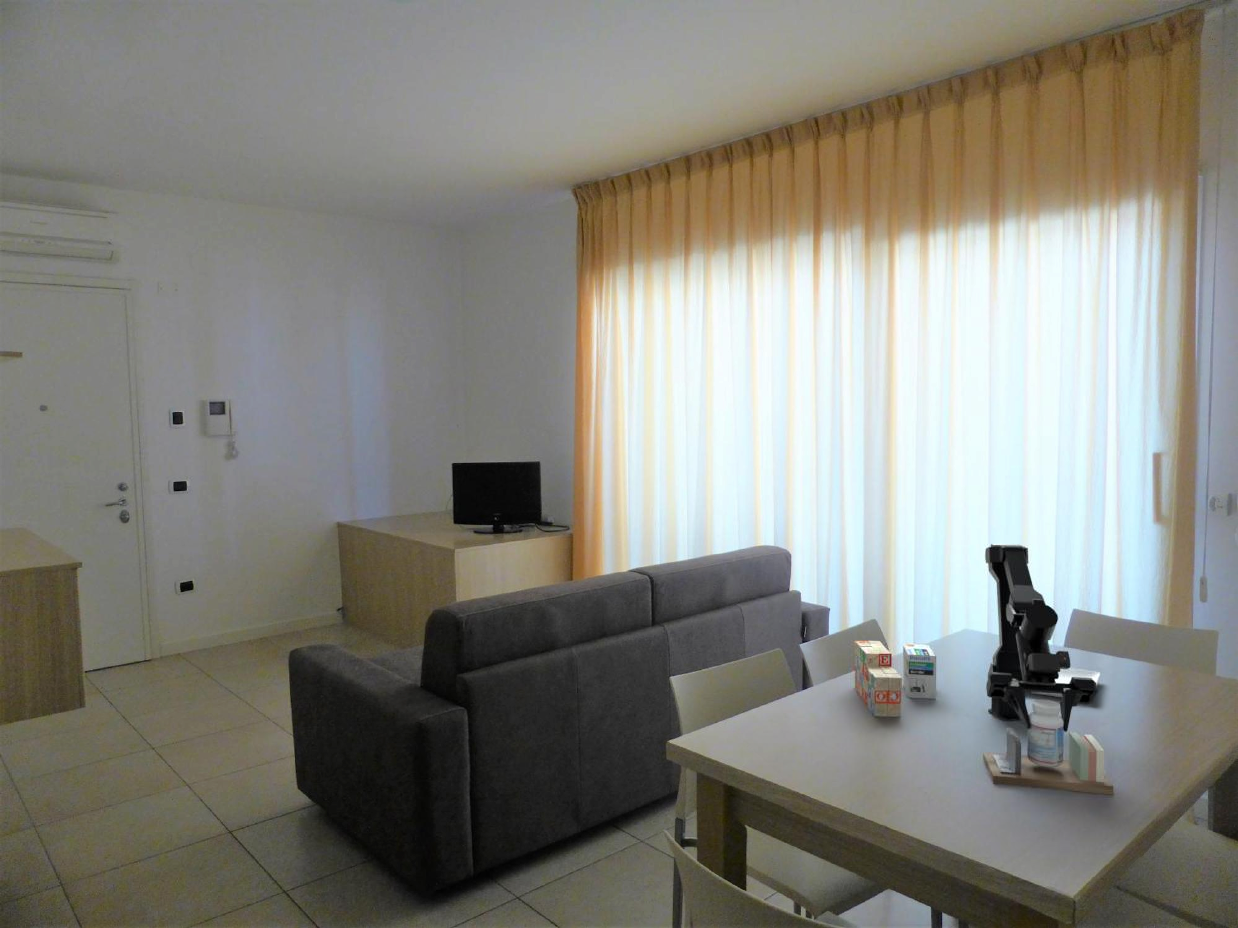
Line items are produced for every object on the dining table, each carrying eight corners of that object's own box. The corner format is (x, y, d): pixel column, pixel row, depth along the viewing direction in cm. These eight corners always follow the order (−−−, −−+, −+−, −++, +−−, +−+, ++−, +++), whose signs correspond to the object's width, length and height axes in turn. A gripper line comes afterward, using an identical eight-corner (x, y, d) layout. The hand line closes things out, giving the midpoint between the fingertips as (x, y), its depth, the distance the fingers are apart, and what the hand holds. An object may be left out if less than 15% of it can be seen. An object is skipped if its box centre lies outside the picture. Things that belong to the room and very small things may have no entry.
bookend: (992, 756, 165) (993, 726, 164) (1012, 757, 164) (1012, 727, 164) (1000, 772, 157) (1001, 741, 157) (1020, 774, 156) (1021, 743, 156)
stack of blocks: (901, 717, 191) (902, 664, 191) (873, 717, 192) (874, 663, 191) (879, 687, 213) (879, 639, 212) (854, 687, 213) (854, 639, 212)
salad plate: (1100, 683, 215) (1100, 670, 215) (1095, 707, 197) (1095, 693, 197) (1010, 670, 227) (1010, 658, 226) (997, 692, 209) (997, 679, 209)
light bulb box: (936, 699, 203) (937, 655, 202) (907, 698, 204) (908, 654, 204) (929, 686, 213) (930, 644, 213) (902, 684, 215) (902, 642, 214)
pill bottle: (1045, 753, 163) (1047, 696, 162) (1070, 765, 157) (1072, 707, 156) (1019, 756, 161) (1021, 699, 161) (1043, 769, 155) (1044, 710, 155)
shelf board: (983, 760, 167) (983, 752, 167) (1094, 769, 162) (1094, 761, 162) (993, 783, 156) (993, 775, 156) (1113, 794, 151) (1113, 786, 151)
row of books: (1068, 762, 161) (1069, 732, 161) (1091, 764, 160) (1091, 733, 160) (1080, 779, 154) (1080, 747, 153) (1104, 782, 153) (1104, 749, 152)
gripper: (989, 631, 164) (999, 706, 154) (1095, 636, 159) (1113, 714, 149) (982, 659, 172) (991, 732, 162) (1083, 665, 167) (1098, 740, 157)
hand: (1047, 729), depth 157 cm, fingers closed on pill bottle, 6 cm apart
